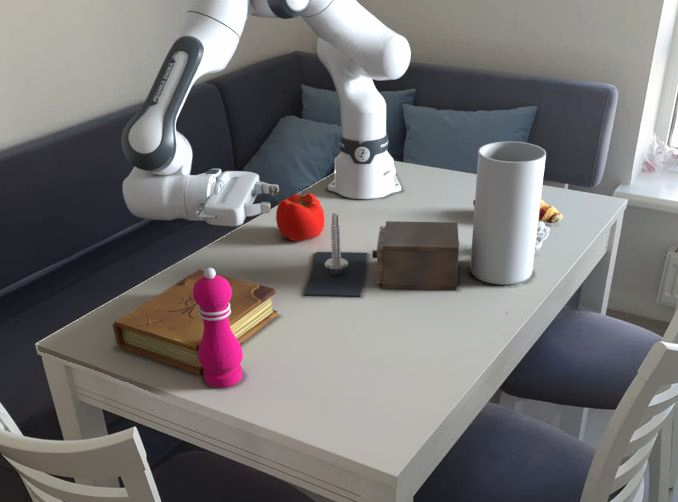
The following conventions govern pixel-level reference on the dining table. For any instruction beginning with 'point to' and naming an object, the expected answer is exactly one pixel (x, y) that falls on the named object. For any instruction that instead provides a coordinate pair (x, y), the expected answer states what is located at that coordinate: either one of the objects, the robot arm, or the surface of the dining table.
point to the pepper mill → (217, 331)
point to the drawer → (379, 255)
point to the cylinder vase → (506, 211)
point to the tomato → (300, 217)
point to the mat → (337, 276)
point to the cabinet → (420, 255)
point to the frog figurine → (541, 234)
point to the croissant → (546, 213)
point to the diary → (189, 322)
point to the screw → (336, 250)
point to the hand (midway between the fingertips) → (274, 198)
